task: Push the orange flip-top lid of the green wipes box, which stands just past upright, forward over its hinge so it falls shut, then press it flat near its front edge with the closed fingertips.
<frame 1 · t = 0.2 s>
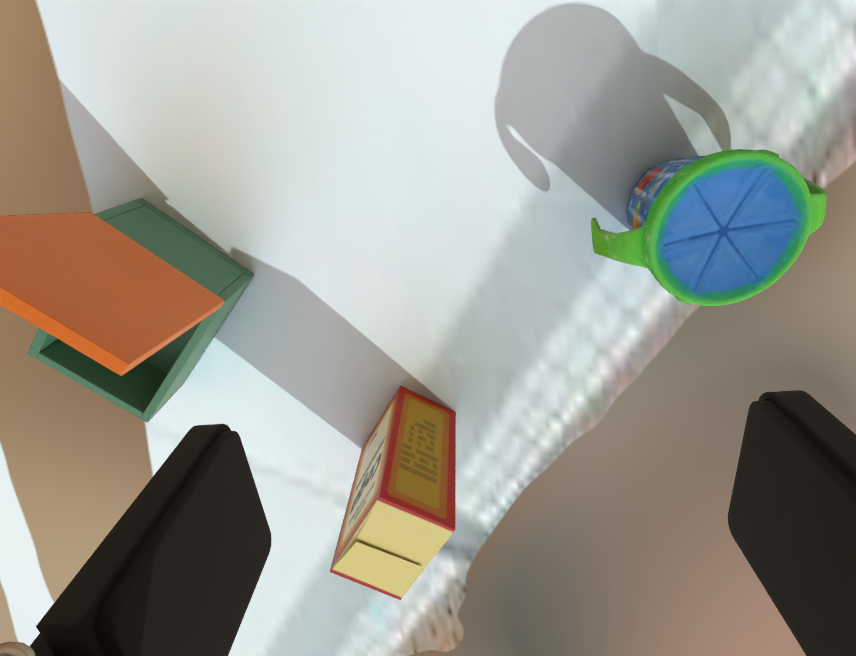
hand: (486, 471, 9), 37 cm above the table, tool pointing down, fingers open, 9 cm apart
lid: (102, 277, 32), point 15 cm above the table, hinge at 104.0°
baking soda box: (407, 430, 54), on the table
snack cup: (669, 203, 43), on the table
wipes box: (164, 299, 49), on the table
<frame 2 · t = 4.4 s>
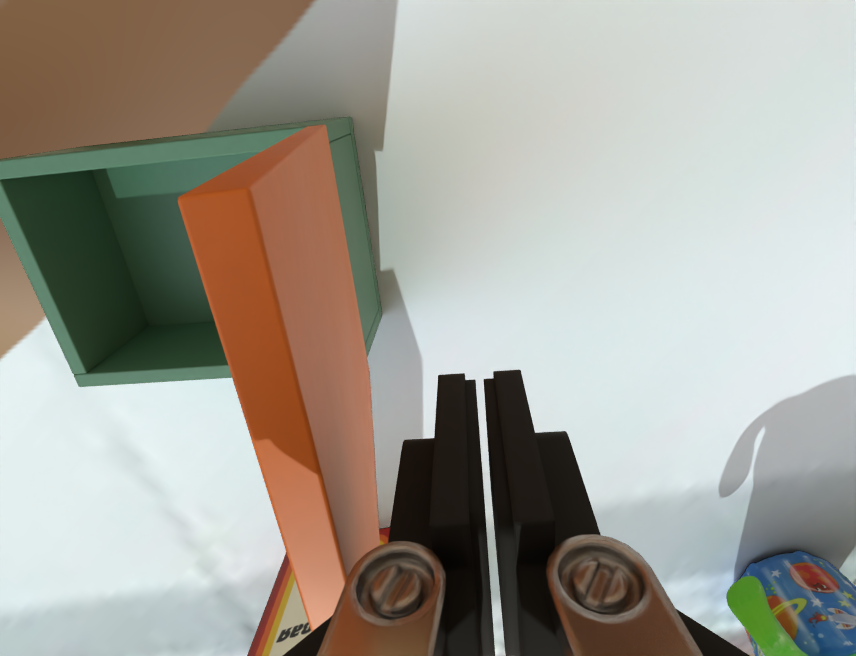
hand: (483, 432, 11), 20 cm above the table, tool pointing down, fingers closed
lid: (335, 342, 15), point 15 cm above the table, hinge at 101.1°
baking soda box: (358, 560, 42), on the table
snack cup: (780, 579, 40), on the table
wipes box: (239, 235, 30), on the table
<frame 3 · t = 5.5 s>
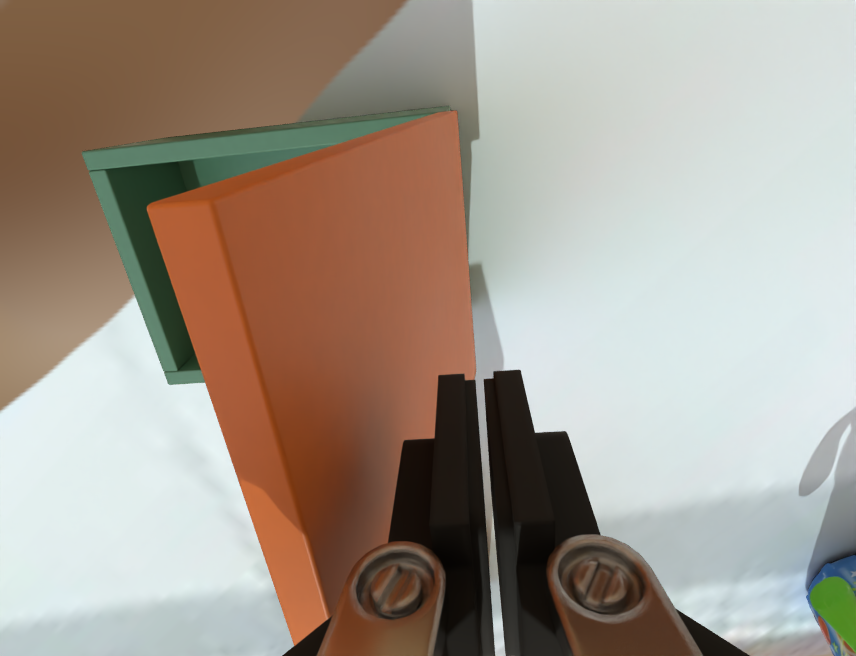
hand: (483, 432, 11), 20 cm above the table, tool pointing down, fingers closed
lid: (418, 342, 15), point 15 cm above the table, hinge at 81.6°, touching gripper
snack cup: (853, 579, 39), on the table
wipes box: (324, 229, 29), on the table
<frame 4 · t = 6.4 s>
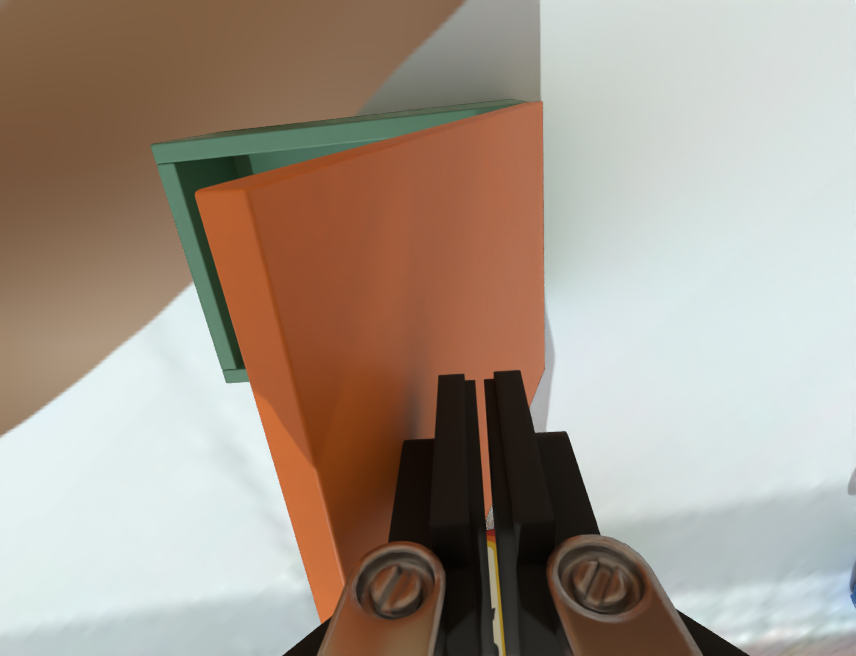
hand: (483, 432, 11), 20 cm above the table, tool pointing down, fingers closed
lid: (476, 334, 15), point 15 cm above the table, hinge at 70.3°
baking soda box: (460, 563, 40), on the table
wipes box: (378, 225, 29), on the table
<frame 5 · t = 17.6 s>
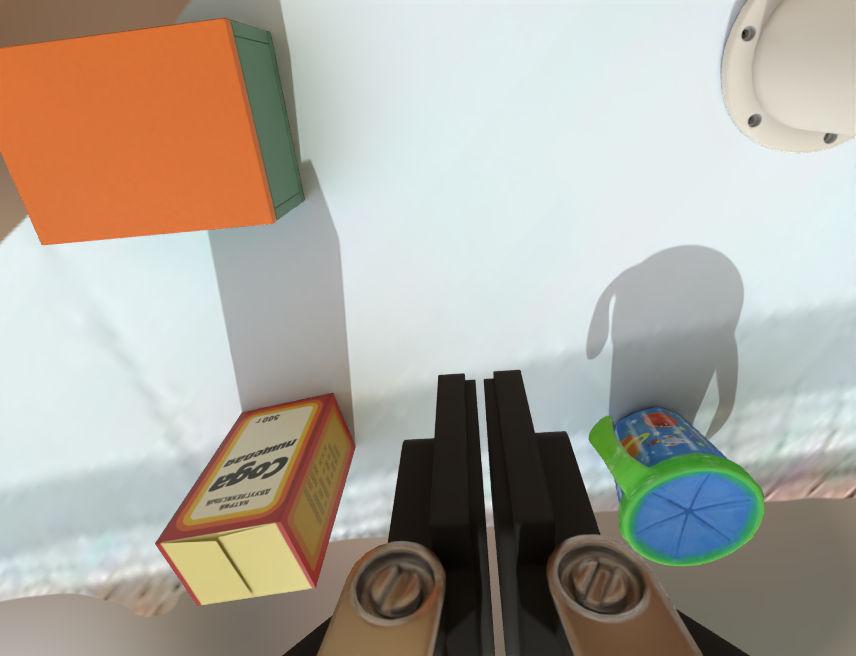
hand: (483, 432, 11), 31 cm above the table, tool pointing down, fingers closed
lid: (127, 142, 32), point 7 cm above the table, hinge at -0.2°
baking soda box: (299, 428, 50), on the table
snack cup: (646, 436, 48), on the table
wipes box: (188, 133, 38), on the table
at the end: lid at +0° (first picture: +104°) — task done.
